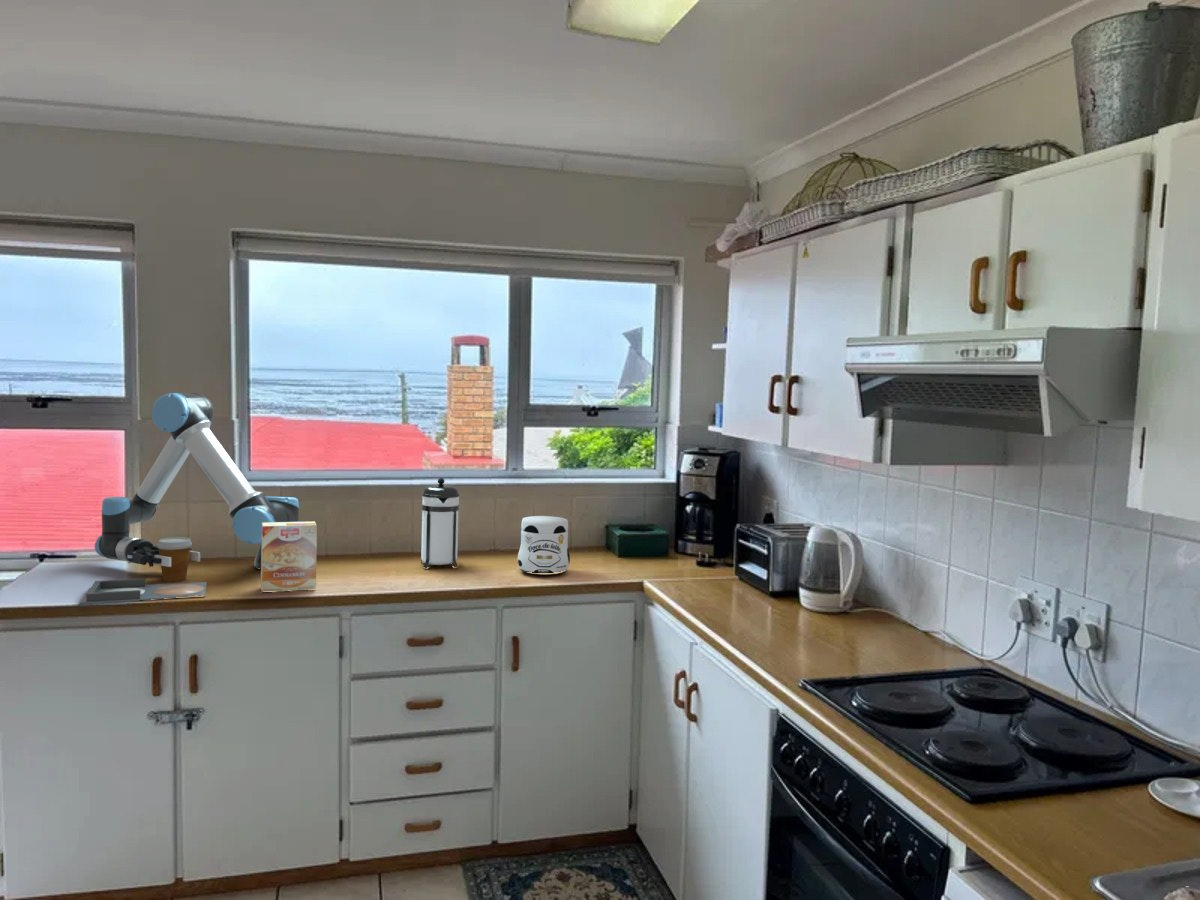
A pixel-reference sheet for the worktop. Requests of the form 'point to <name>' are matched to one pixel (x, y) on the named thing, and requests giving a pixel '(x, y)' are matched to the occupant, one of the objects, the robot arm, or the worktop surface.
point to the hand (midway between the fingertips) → (184, 559)
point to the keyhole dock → (139, 591)
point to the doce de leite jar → (544, 544)
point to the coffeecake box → (288, 556)
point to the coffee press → (440, 524)
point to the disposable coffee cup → (175, 557)
